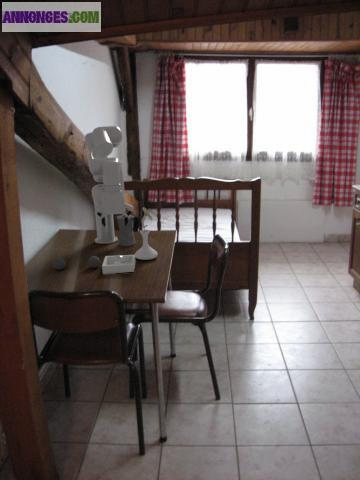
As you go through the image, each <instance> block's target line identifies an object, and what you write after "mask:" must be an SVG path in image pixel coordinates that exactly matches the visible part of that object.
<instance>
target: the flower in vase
mask: <svg viewBox="0 0 360 480" xmlns="http://www.w3.org/2000/svg"><path fill="white" fill-rule="evenodd" d="M142 211H143V213H144V217H143V221H142V223H141V224H142V226H143V227H142V229H141V230H139V233H140V235H141V236H142V246H140V248H139V249H138V250H136V252H135V253H134V255H135V259H137V260H141V261H142V260H143V261H145V260H146V261H148V260H153V259H155V258H157V257H158V255H159V254H158V251H157V250H156V249H153V248H152V247H151V246H150V245H149V241H148V240H149V234H150V232H151V230H150V229H145V228H146V227H148V225H147V224H144V222H145V218H146V217H147V218H148V219H149V220H150V221H153V220H154V219H153V216H152V215H151V214H150V211H148V210H147V208H146V207H145V206H143V207H142Z"/></svg>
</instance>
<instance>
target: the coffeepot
mask: <svg viewBox="0 0 360 480" xmlns="http://www.w3.org/2000/svg"><path fill="white" fill-rule="evenodd" d="M124 217H125V216H124V215H123V214H120V215H116V216H115V217H114V218H115V219H116V221H117V226H118V229H119V237H118V245H119V246H120V247H132V246H134V245H136V238H135V233H137V232H138V230H139V226H140V223H141V221H140V219H139V217H138V216H134V215H131V214H130V215H129V216H128V224H127V226H125V220H124ZM135 221H136V225H135V229H134V222H135ZM134 232H135V233H134Z"/></svg>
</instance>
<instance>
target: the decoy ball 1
mask: <svg viewBox="0 0 360 480" xmlns="http://www.w3.org/2000/svg"><path fill="white" fill-rule="evenodd" d="M66 264H67V262H66V259H64V258H63V257H57V258H55V259H54V260H53V267H54V268H55V269H56V270H63V269H64V268H65V267H66Z"/></svg>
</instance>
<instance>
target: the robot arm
mask: <svg viewBox="0 0 360 480" xmlns="http://www.w3.org/2000/svg"><path fill="white" fill-rule="evenodd" d="M122 141H123V131H122V130H121V128H120V127H119V126H117V125H110V126H107V125H106V126H98V127H95V128H94V129H93V130H92V131H91V132H88V133H86V134H85V136H84V144H85V146H86V148H87V151H88V152H89V153H88V156H87V163H88V167H89V168H88V169H89V172H90V173H91V175H92V178H93V179H94V181H95V182H96V183H102V184H96V185H94V186H93V187H92V188H91V197H92V201H93V205H94V213H95V214H94V215H95V225H96V236H97V237H96V238H95V239H94V242H95V243H96V244H98V245H99V244H101V245H107V244H113V243H116V242H118V241H119V237H118V236H116V235H115V224H114V223H115V222H114V215H124V216H125V217H124V220H125V226H127V224H128V216H129V215H131V214H132V212H133V209H134V206H133V205H131V204H128V203H126V201H125V181H124V172H123V171H124V170H123V168H122V167H123V166H122V161H121V160H120V159H119V158H117V157H108V156H110V155H111V154H112V153H113V151H114V149H115V148H118V147H119V146H120V145H121V143H122ZM126 208H127V209H129V210H128V211H126Z"/></svg>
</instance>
